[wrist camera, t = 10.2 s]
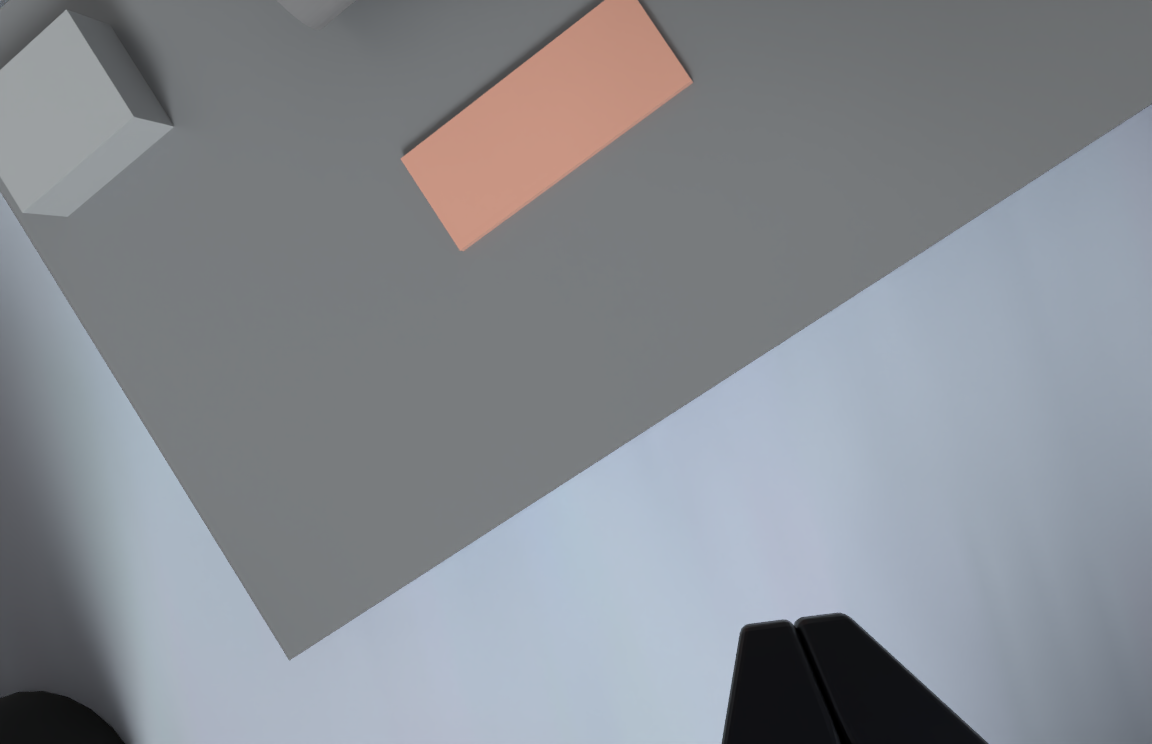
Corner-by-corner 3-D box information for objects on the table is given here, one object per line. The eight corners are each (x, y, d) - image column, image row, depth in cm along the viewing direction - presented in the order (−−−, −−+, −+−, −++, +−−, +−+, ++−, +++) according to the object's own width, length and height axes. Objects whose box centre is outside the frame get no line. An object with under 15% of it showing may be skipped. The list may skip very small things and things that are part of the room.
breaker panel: (1229, 51, 18) (1312, 1, 15) (336, 628, 23) (256, 682, 19) (764, -597, 19) (749, -774, 15) (3, 92, 23) (-124, 63, 20)
